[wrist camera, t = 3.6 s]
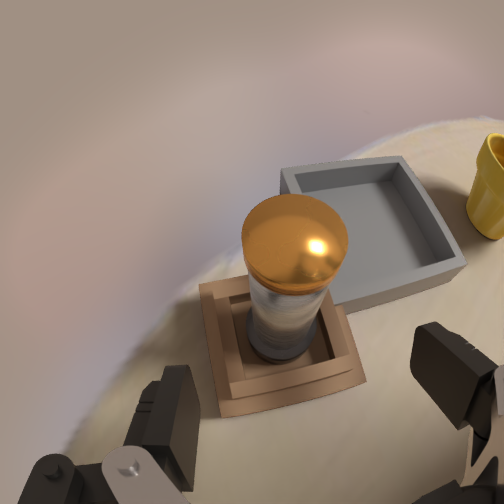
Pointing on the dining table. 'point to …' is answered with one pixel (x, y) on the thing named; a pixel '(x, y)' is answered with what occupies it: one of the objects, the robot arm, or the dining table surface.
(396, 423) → the dining table surface
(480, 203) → the plant pot
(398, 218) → the tray
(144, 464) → the robot arm
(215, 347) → the brown square open box
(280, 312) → the gold-capped glass canister
